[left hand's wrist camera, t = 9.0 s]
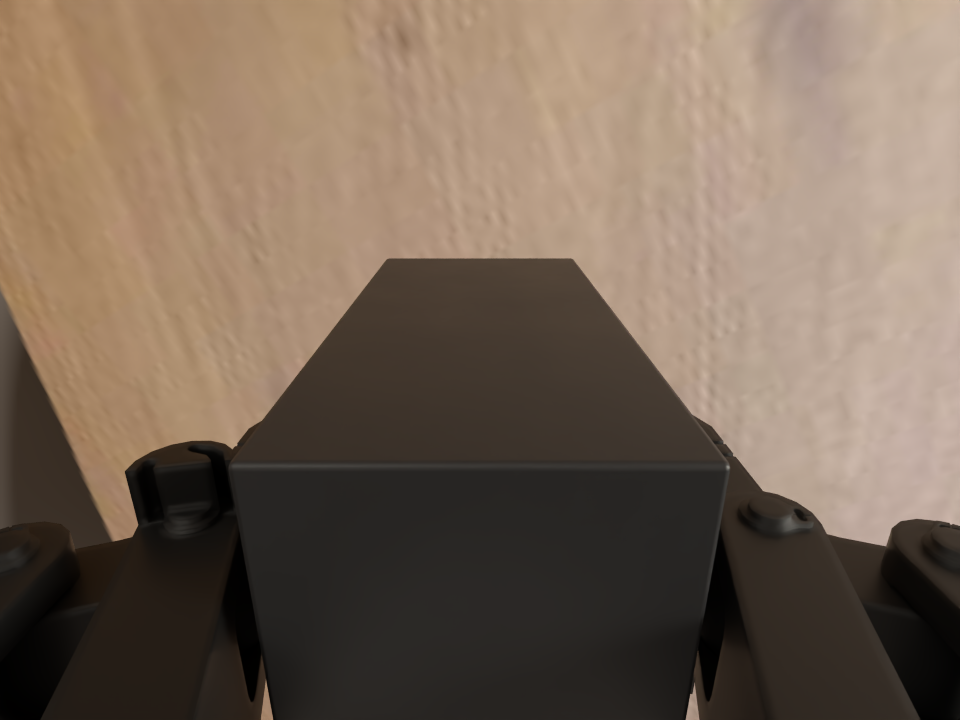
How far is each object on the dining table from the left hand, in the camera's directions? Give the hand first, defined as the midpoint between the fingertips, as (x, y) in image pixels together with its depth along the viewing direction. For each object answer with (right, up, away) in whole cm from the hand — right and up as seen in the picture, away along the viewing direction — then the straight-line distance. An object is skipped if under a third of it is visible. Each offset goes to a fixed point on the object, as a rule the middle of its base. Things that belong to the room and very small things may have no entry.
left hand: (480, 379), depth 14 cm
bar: (0, -10, +5) cm, 11 cm away
